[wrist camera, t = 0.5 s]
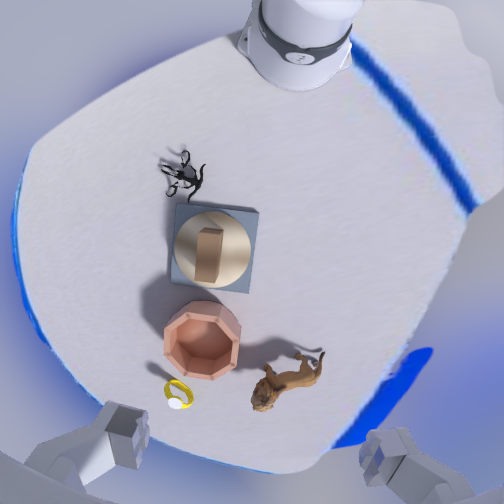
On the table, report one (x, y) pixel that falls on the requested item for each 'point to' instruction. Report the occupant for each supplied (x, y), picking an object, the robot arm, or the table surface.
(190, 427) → the table surface
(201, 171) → the creature
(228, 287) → the mat
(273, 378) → the lion figurine
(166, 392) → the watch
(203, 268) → the lid
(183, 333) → the octagonal planter
